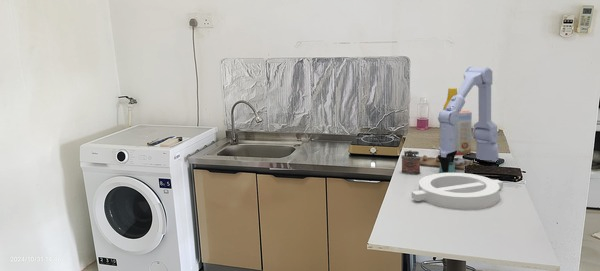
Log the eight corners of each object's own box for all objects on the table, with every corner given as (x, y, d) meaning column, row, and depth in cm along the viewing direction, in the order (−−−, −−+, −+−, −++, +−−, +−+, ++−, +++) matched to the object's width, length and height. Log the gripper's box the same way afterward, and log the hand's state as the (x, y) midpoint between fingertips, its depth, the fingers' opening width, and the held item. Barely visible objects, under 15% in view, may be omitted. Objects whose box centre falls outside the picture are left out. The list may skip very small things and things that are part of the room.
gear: (456, 171, 199) (456, 162, 198) (453, 175, 193) (453, 166, 192) (441, 169, 202) (441, 161, 201) (437, 173, 196) (437, 164, 196)
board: (471, 163, 209) (471, 155, 209) (465, 170, 199) (466, 162, 198) (421, 158, 221) (421, 151, 220) (413, 165, 211) (413, 157, 210)
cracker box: (467, 151, 228) (469, 110, 224) (471, 155, 223) (472, 112, 218) (438, 152, 230) (439, 111, 225) (441, 155, 224) (441, 113, 220)
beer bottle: (438, 141, 252) (439, 88, 246) (452, 139, 256) (453, 86, 250) (450, 144, 244) (452, 90, 238) (464, 142, 248) (465, 88, 241)
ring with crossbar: (504, 189, 175) (504, 177, 174) (492, 215, 152) (492, 201, 151) (430, 180, 190) (430, 169, 189) (409, 203, 166) (409, 190, 165)
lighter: (400, 173, 200) (400, 150, 198) (402, 171, 203) (402, 149, 201) (419, 175, 196) (419, 152, 194) (421, 172, 199) (421, 150, 197)
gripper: (442, 134, 202) (442, 164, 205) (433, 141, 190) (433, 173, 193) (459, 135, 199) (458, 165, 202) (451, 142, 187) (450, 175, 190)
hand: (447, 169), depth 197 cm, fingers open, 7 cm apart
